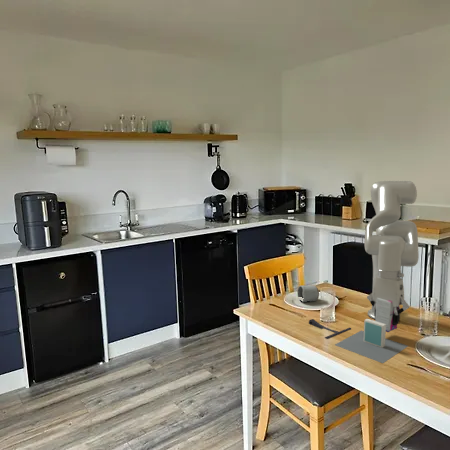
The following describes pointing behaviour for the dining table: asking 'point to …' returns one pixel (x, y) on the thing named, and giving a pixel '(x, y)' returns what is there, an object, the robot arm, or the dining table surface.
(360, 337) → the mat
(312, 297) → the ceramic mug
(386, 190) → the robot arm
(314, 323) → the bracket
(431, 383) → the dining table surface
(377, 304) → the supplement box
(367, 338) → the tile
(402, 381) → the dining table surface
